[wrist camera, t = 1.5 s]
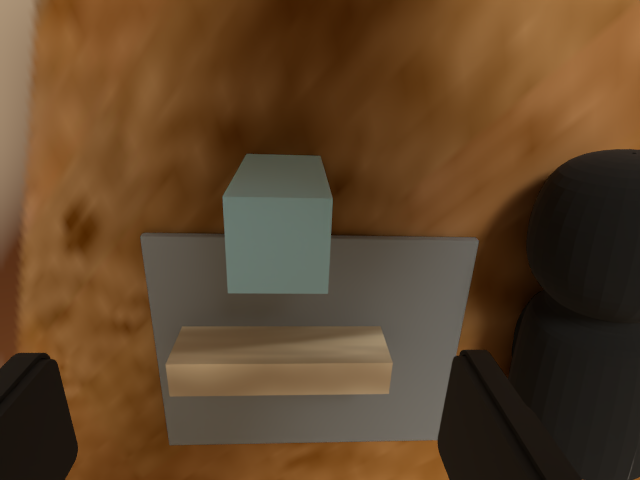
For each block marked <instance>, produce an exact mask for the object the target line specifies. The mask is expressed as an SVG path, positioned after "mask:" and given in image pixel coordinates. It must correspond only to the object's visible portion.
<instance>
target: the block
mask: <svg viewBox="0 0 640 480" xmlns="http://www.w3.org/2000/svg"><path fill="white" fill-rule="evenodd" d="M222 197H223V215H224V233H225V251H226V269H227V287H228V293H275V294H328V284H329V265H330V245H331V226H332V206H333V197H332V194H331V190H330V187H329V183H328V180H327V177H326V173H325V170H324V166H323V163H322V159H321V156H311V155H274V154H246V156H245V157H244V159H243V161H242V163H241V165H240V166H239V168H238V170H237V172H236V173H235V175H234V177H233V179H232V181H231V182H230V184H229V186H228V188H227V189H226V191H225V193H224V195H223V196H222Z"/></svg>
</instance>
